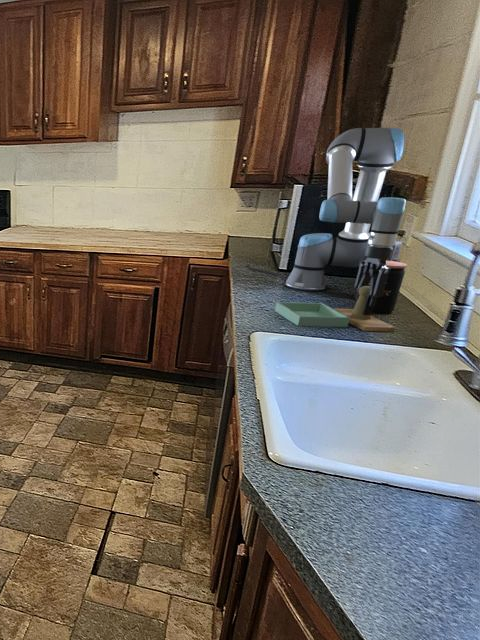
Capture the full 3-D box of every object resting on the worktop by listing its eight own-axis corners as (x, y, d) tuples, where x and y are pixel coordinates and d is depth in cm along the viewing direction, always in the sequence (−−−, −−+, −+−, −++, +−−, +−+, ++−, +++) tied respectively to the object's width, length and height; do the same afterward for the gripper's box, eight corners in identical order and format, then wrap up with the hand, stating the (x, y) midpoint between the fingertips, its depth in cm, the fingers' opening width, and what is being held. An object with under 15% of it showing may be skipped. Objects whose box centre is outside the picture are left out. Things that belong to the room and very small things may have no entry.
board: (328, 312, 197) (329, 308, 197) (356, 312, 197) (357, 308, 196) (363, 330, 177) (364, 326, 176) (394, 331, 176) (395, 327, 176)
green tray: (274, 310, 198) (276, 302, 197) (319, 311, 198) (321, 302, 196) (297, 326, 181) (299, 316, 180) (347, 327, 180) (349, 317, 179)
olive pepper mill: (349, 317, 186) (357, 286, 182) (352, 313, 190) (360, 283, 186) (369, 320, 182) (377, 289, 178) (372, 316, 186) (381, 286, 182)
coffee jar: (353, 308, 202) (365, 261, 196) (371, 305, 206) (384, 259, 200) (381, 315, 193) (395, 266, 187) (399, 312, 197) (413, 264, 191)
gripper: (353, 241, 185) (337, 305, 194) (385, 250, 169) (366, 319, 177) (375, 241, 185) (358, 305, 194) (409, 250, 168) (389, 320, 177)
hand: (362, 312), depth 185 cm, fingers closed on olive pepper mill, 5 cm apart
